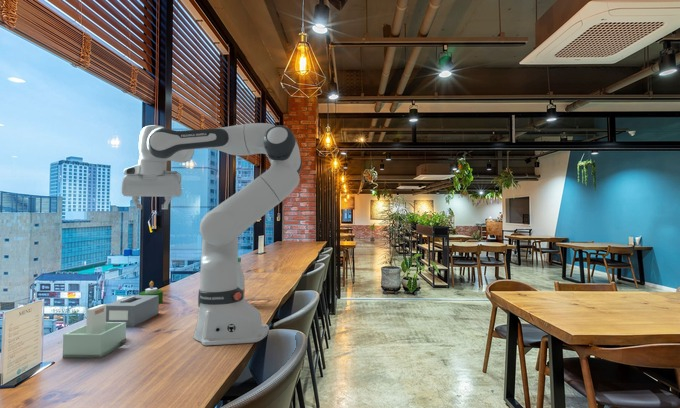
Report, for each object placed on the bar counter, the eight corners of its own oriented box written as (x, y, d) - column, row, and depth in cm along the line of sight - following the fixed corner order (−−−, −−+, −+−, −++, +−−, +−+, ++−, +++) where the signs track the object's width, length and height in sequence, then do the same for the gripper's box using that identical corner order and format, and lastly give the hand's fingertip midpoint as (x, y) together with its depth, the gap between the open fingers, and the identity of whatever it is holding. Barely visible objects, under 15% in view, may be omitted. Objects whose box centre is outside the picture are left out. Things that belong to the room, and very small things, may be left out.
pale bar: (105, 343, 95) (106, 304, 95) (91, 350, 90) (92, 309, 90) (99, 343, 95) (100, 304, 95) (85, 350, 90) (86, 309, 90)
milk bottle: (246, 304, 139) (247, 256, 139) (241, 310, 131) (242, 258, 132) (227, 304, 138) (228, 256, 139) (221, 310, 131) (222, 258, 131)
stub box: (125, 343, 97) (126, 322, 97) (100, 358, 87) (101, 334, 87) (91, 342, 97) (92, 322, 97) (62, 357, 87) (63, 334, 87)
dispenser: (158, 317, 121) (158, 293, 121) (133, 331, 107) (134, 304, 107) (130, 317, 121) (131, 293, 122) (102, 331, 107) (103, 303, 107)
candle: (166, 304, 139) (167, 280, 139) (146, 309, 132) (146, 283, 132) (155, 301, 143) (156, 278, 143) (135, 306, 136) (135, 281, 136)
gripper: (185, 172, 124) (184, 209, 123) (130, 172, 124) (129, 209, 124) (176, 169, 117) (176, 209, 117) (119, 169, 118) (118, 209, 117)
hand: (151, 209), depth 120 cm, fingers open, 8 cm apart
